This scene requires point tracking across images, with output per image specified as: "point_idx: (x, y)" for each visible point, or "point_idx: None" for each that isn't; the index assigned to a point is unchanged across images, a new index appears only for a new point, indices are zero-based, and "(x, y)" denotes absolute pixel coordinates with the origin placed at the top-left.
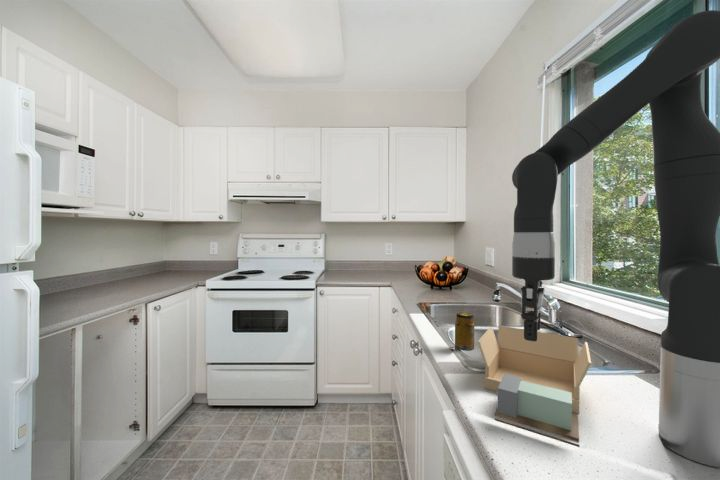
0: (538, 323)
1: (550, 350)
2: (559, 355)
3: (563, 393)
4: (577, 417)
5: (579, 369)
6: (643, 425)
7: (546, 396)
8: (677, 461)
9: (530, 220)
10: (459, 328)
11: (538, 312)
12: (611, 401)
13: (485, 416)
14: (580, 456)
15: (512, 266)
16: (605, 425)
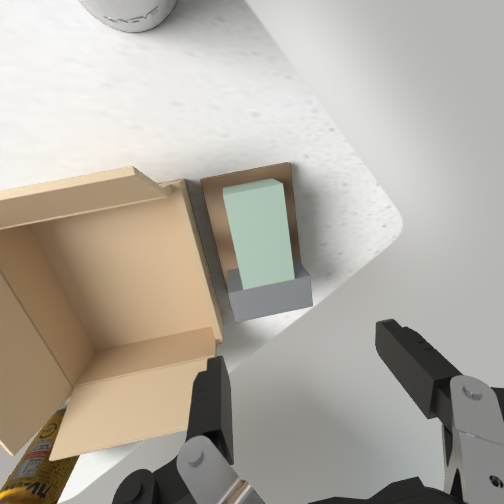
0: (222, 381)
1: None
2: None
3: (241, 208)
4: (213, 178)
5: (87, 203)
6: (98, 62)
7: (283, 231)
8: (205, 3)
9: None
10: (61, 488)
11: (209, 438)
12: (31, 132)
13: None
14: (310, 156)
15: None
16: (170, 133)
